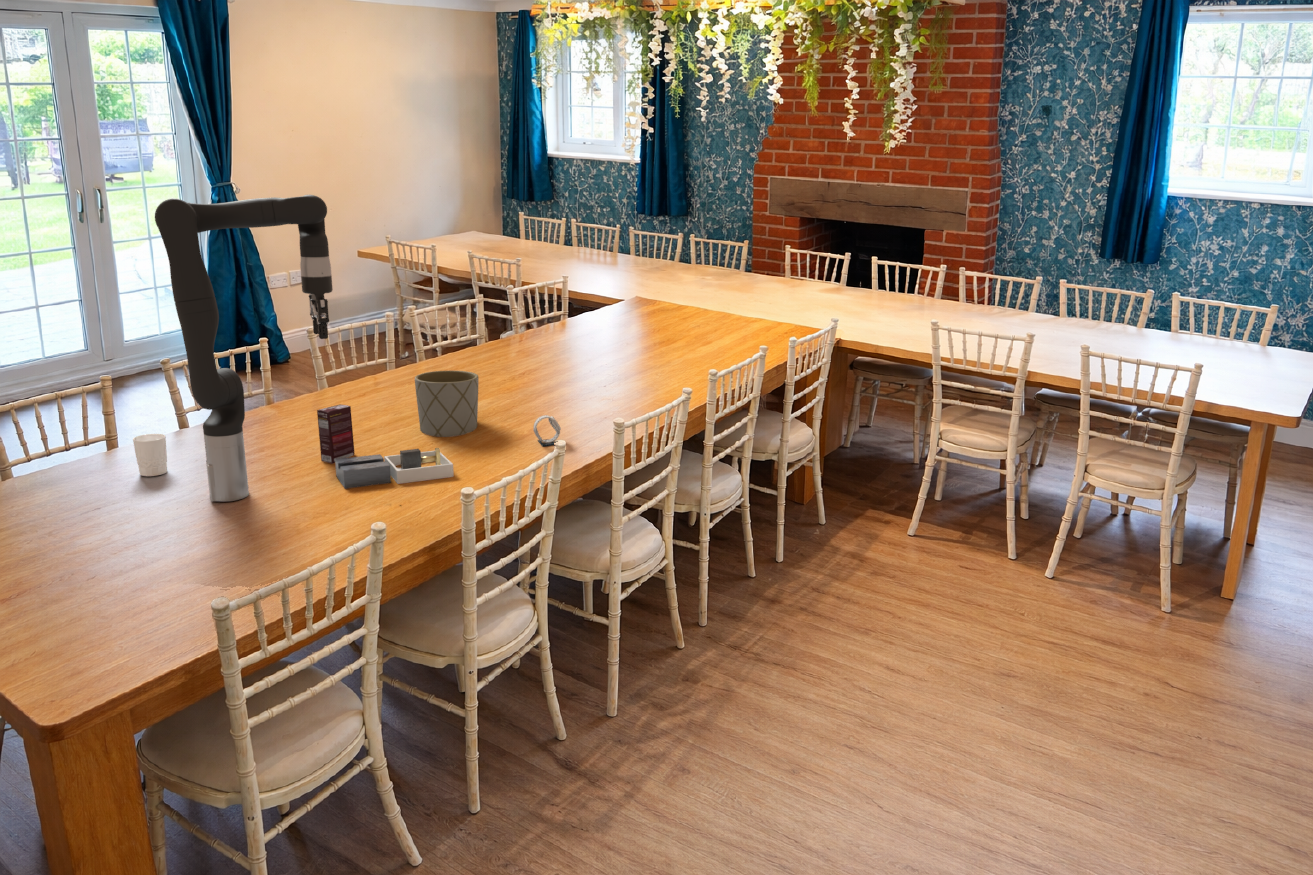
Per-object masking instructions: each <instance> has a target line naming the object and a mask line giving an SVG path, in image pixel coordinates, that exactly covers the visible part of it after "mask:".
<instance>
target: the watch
mask: <svg viewBox="0 0 1313 875" xmlns="http://www.w3.org/2000/svg"><path fill="white" fill-rule="evenodd" d="M545 419H548V422H549V424H550V425H551V427H552V428H553V430H554V431H555V432H556V433H555V434H554V436H553V437H552V438H550V439H548V438H547V439H543V438H542V437H541V435H540V433H539V430H538V424H539V423H540V422H541V421H542V420H545ZM561 429H562V428H561V426H560V424H559V423H558V421H557V420H556V419H555V417H554V416H553V415H551V416H550V415H547V414H546V415H540V416H538V417H537V418H536V419H535V421H534V423H533V432H534V435H535V436H536V438H537V442H538V443H539V444H540V446H541V447H542V448H545V447H553V446H555V445H554V442H556V440H557V439H558V438H559V437H560V434H561Z"/></svg>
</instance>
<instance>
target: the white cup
mask: <svg viewBox="0 0 1313 875" xmlns="http://www.w3.org/2000/svg"><path fill="white" fill-rule="evenodd" d="M166 438H167V437H166V435H165V434H163V433H146V434H142V435H138V436H134V437H133V438H132V443H133V447H134V453H135V458H136V463H137V466H138V472H139V475H140V476H142V477H154V476H161V475H165V474H166V473H167V472H168V464H167V463H168V455H167V440H166Z"/></svg>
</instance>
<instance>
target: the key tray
mask: <svg viewBox="0 0 1313 875" xmlns="http://www.w3.org/2000/svg"><path fill="white" fill-rule="evenodd" d="M427 456H435V450H430V451H429V450H428V451H421V457H427ZM383 458H384V461H386V462H387V463H388V464H389V465H390V475H391V479H393V480H394V481H395V483H396V484H398V485H399V484H407V483H415V482H422V481H432V480H438V479H446V478H447V479H448V478H453V477H454V476H455V475H454V463H453V462H452V461H451V460H449V459H448V458H447V457H446V455H443V453H442V452H440V463H441V465H436V464H435V465H429V466H421V467H419V468H411V469H403V470H401V467H396V466H401V459H400V454H394V455H393V454H391V455H385V456H383Z"/></svg>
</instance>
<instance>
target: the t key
mask: <svg viewBox="0 0 1313 875" xmlns="http://www.w3.org/2000/svg"><path fill="white" fill-rule="evenodd" d="M434 451H435V456H427V457H421V452H422V451H421V450H420V449H419V448H413V449H404V450H399V455H400V459H401V465H400V468H401V470H403V469H411V468H419V467H422V464H424V463H431V462H435V466H436V465H442V464H441V463H440V453H441V448H440V447H435V448H434Z"/></svg>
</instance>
